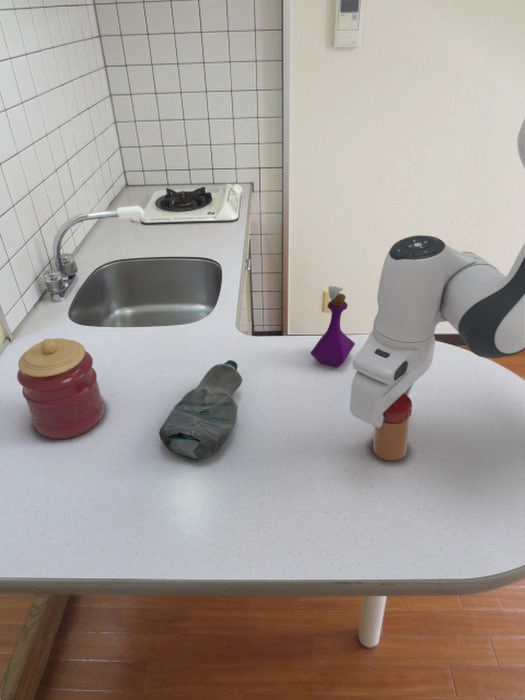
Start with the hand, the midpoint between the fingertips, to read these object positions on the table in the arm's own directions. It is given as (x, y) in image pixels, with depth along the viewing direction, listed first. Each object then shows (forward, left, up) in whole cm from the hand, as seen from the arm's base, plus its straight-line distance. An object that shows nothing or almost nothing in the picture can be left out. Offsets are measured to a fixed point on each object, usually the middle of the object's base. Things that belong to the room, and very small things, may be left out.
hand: (389, 412), depth 87 cm
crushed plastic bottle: (+30, -11, -8) cm, 33 cm away
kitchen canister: (+57, -14, -8) cm, 59 cm away
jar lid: (0, 0, +2) cm, 2 cm away
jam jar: (-1, +1, -8) cm, 8 cm away
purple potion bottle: (+4, -27, -8) cm, 28 cm away
